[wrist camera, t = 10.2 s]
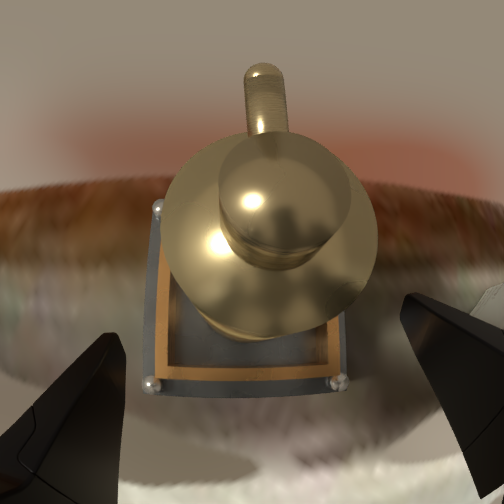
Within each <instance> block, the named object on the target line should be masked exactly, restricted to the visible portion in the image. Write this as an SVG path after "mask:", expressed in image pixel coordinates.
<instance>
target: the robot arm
mask: <svg viewBox="0 0 504 504" xmlns="http://www.w3.org/2000/svg"><path fill="white" fill-rule="evenodd" d="M400 321H401V323H402V325H403V328H404V330H405V332H406V334H407V337H408V339H409V341H410V344H411V346H412V349H413V351H414V353H415V355H416V357H417V359H418V361H419V363H420V365H421V367H422V369H423V371H424V373H425V375H426V377H427V379H428V380H429V382H430V384H431V386H432V388H433V390H434V392H435V394H436V396H437V398H438V400H439V402H440V404H441V406H442V409H443V411H444V413H445V415H446V417H447V419H448V421H449V423H450V426H451V427H452V430H453V432H454V434H455V437H456V439H457V441H458V444H459V446H460V448H461V451H462V452H463V456H464V458H465V461H466V463H467V466H468V468H469V471H470V473H471V476H472V478H473V481H474V484H475V486H476V489H477V492H478V495H479V497H480V499H482V498H484V497H485V496H487V495H488V494H490V493H491V492H493V491H494V490H496V489H497V488H499V487H500V486H501V485H503V484H504V330H503V329H500V328H498V327H496V326H494V325H492V324H489V323H487V322H485V321H483V320H480V319H478V318H476V317H473V316H471V315H469V314H467V313H464V312H462V311H460V310H457V309H455V308H453V307H450V306H448V305H446V304H443V303H441V302H439V301H436V300H434V299H432V298H429V297H427V296H425V295H422V294H420V293H417V292H415V293H410V294H407V295H406V296H405V298H404V301H403V305H402V309H401V312H400ZM125 382H126V354H125V351H124V349H123V346H122V344H121V341H120V339H119V336H118V335H117V333H115V332H112V333H103V334H102V335H101V336H100V337H99V338H98V339H97V340H96V341H95V342H94V343H93V344H92V345H90V346H89V347H88V348H87V349H86V350H85V351H84V352H83V353H82V354H81V355H80V356H79V357H78V358H77V359H76V360H75V361H74V362H73V363H72V364H71V365H70V366H69V367H68V368H67V369H66V370H65V371H64V372H63V373H62V374H61V375H60V376H59V377H58V378H57V379H56V380H55V382H54V383H53V384H52V385H51V386H50V387H49V388H48V389H47V390H46V391H45V392H44V393H43V394H42V395H41V396H40V397H39V398H38V399H37V400H36V401H35V402H34V403H33V406H31V407H30V408H29V409H28V410H27V411H26V412H25V413H24V414H23V415H22V416H21V417H20V418H19V419H18V420H17V421H16V422H15V423H14V424H13V425H12V426H11V427H10V428H9V429H8V430H7V431H6V432H5V433H4V434H2V435H1V436H0V504H118V478H119V461H120V448H121V436H122V426H123V418H124V409H125ZM502 504H504V496H503V500H502Z"/></svg>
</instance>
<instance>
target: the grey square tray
mask: <svg viewBox="0 0 504 504" xmlns="http://www.w3.org/2000/svg"><path fill="white" fill-rule="evenodd" d="M164 200H165V199H159V200H157V201H155V202H154V204H153V207H152V208H153V216H152V224H151V232H150V241H149V251H148V262H147V274H146V288H145V305H144V329H143V381H142V387H143V393H144V394H154V395H166V396H181V397H203V398H261V397H283V396H298V395H310V394H321V393H330V392H338V391H346V390H347V387H348V385H349V378H348V376H347V366H346V334H345V314H344V311H343V312H341V313H340V314H339V315H338V316H336V317H335V318H333V319H331V320H329V321H328V322H326V323H324V324H322V325H320V326H317V327H315V328H312V329H309V330H306V331H302V332H298V333H293V334H289V335H285V336H281V337H276V338H272V339H267V340H263V341H258V342H253V343H239V342H234V341H231V340H228V339H226V338H224V337H222V336H221V335H219V334H218V333H216V332H215V331H214V330H213V329H212V328H211V327H210V326H209V324H208V323H207V322H206V321H205V319H204V318H203V317H202V315H201V314H200V313H199V311H198V310H197V309H196V307H195V306H194V305H193V303H192V302H191V301H190V299H189V298H188V297H187V295H186V294H185V293H184V291H183V290H182V288H181V287H180V286H179V284H178V283H177V281H176V279H175V278H174V276H173V274H172V272H171V271H170V268H169V266H168V263H167V261H166V258H165V255H164V251H163V247H162V242H161V232H160V224H161V212H162V207H163V203H164Z"/></svg>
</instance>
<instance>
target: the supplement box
mask: <svg viewBox="0 0 504 504" xmlns="http://www.w3.org/2000/svg"><path fill="white" fill-rule="evenodd" d="M469 315H471V316H473V317H476V318H478V319H480V320H483V321H485V322H487V323H489V324H492V325H494V326H496V327H498V328H500V329H503V330H504V283H501V284H499V285H496V286H493V287H491V288H488V289H487V290H486V291H485V293H484V295H483V296H482V298H481V299H480V301H479V302H478V304H477V305H476V306H475V308H474V309H473V310H472V312H471V313H470V314H469Z"/></svg>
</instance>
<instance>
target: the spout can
mask: <svg viewBox="0 0 504 504" xmlns="http://www.w3.org/2000/svg"><path fill="white" fill-rule="evenodd" d="M244 93H245V107H246V120H247V132H245V133H240V134H235V135H232V136H229V137H226V138H223V139H220V140H218V141H216V142H214V143H212V144H210V145H208V146H207V147H205V148H204V149H202V150H200V151H199V152H198V153H196V154H195V155H194V156H193V157H192V158H190V160H189V161H187V163H186V164H185V165H184V166H183V167H182V168H181V169H180V171H179V172H178V173H177V175H176V176H175V178H174V179H173V181H172V183H171V185H170V187H169V189H168V191H167V194H166V197H165V200H164V203H163V207H162V212H161V224H160V232H161V242H162V247H163V251H164V255H165V258H166V261H167V263H168V266H169V268H170V271H171V272H172V274H173V276H174V278H175V279H176V281H177V283H178V284H179V286H180V287H181V288H182V290H183V291H184V293H185V294H186V295H187V297H188V298H189V299H190V301H191V302H192V303H193V305H194V306H195V307H196V309H197V310H198V311H199V313H200V314H201V315H202V317H203V318H204V319H205V321H206V322H207V323H208V324H209V326H210V327H211V328H212V329H213V330H214V331H215V332H216V333H218V334H219V335H221V336H222V337H224V338H226V339H228V340H231V341H234V342H239V343H253V342H258V341H263V340H267V339H272V338H276V337H281V336H285V335H289V334H293V333H298V332H302V331H306V330H309V329H312V328H315V327H317V326H320V325H322V324H324V323H326V322H328V321H329V320H331V319H333V318H335V317H336V316H338V315H339V314H340V313H341V312H343V311H344V310H345V309H347V308H348V307H349V306H350V305H351V304H352V302H353V301H354V300H355V299H356V298H357V297H358V296H359V294H360V293H361V291H362V290H363V288H364V287H365V285H366V283H367V281H368V279H369V277H370V275H371V273H372V270H373V267H374V264H375V260H376V254H377V247H378V231H377V222H376V218H375V214H374V210H373V207H372V204H371V202H370V199H369V197H368V195H367V193H366V191H365V189H364V187H363V186H362V184H361V183H360V181H359V180H358V178H357V177H356V176H355V175H354V173H353V172H352V171H351V170H350V169H349V168H348V167H347V166H346V165H345V164H344V163H343V162H342V161H341V160H340V159H339V158H338V157H336V156H335V155H334V154H332V153H331V152H330V151H329V150H328V149H326V148H325V147H324V146H322V145H321V144H319V143H317V142H316V141H314V140H312V139H310V138H308V137H305V136H302V135H299V134H295V133H291V132H289V128H288V116H287V107H286V106H287V105H286V96H285V86H284V79H283V75H282V73H281V71H279V69H278V68H277V67H276V66H274V65H272V64H269V63H258V64H255V65H253V66H252V67H250V68H249V69H248V70H247V72H246V73H245V76H244Z"/></svg>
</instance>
